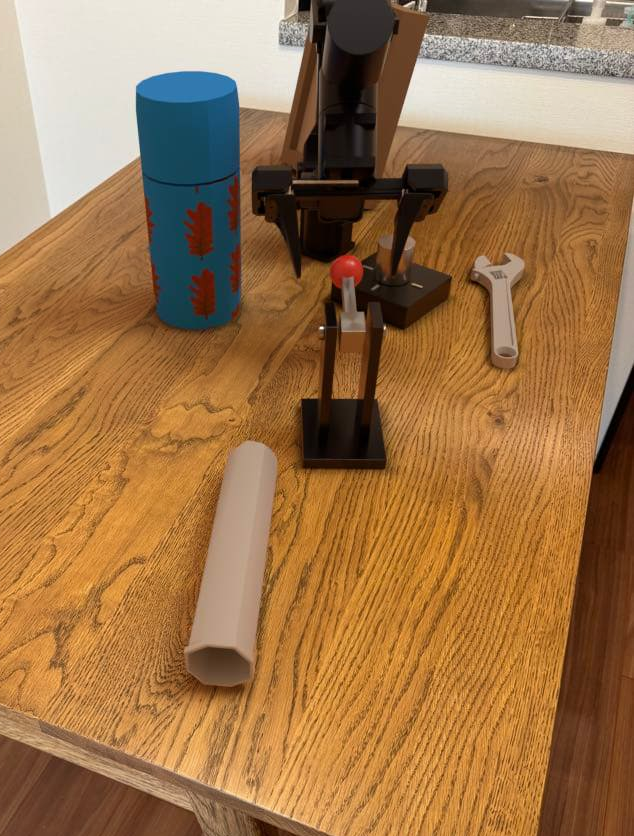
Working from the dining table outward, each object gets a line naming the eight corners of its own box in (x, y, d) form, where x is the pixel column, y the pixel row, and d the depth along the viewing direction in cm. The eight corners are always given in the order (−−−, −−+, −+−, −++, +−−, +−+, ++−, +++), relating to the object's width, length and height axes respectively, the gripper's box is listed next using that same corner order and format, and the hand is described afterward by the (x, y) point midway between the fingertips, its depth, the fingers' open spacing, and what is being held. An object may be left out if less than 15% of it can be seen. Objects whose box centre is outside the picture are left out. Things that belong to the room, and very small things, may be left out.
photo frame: (348, 214, 116) (365, 16, 98) (280, 165, 130) (284, -16, 112) (431, 195, 120) (462, 2, 102) (356, 149, 134) (372, -28, 116)
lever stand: (300, 407, 83) (306, 286, 73) (376, 407, 83) (392, 286, 73) (302, 468, 76) (310, 344, 66) (385, 469, 76) (405, 344, 66)
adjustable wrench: (516, 372, 87) (520, 358, 86) (457, 364, 88) (460, 350, 87) (522, 266, 103) (525, 254, 102) (472, 261, 105) (475, 249, 103)
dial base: (330, 300, 98) (331, 277, 96) (375, 271, 103) (378, 248, 101) (403, 330, 93) (407, 306, 91) (448, 298, 98) (452, 274, 96)
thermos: (255, 296, 100) (255, 76, 82) (219, 338, 93) (211, 108, 75) (179, 280, 103) (164, 66, 85) (139, 319, 96) (113, 95, 78)
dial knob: (403, 288, 94) (409, 250, 90) (368, 281, 95) (373, 243, 92) (415, 272, 97) (421, 235, 93) (381, 265, 98) (385, 228, 95)
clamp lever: (328, 276, 78) (330, 247, 76) (360, 276, 78) (363, 247, 76) (333, 356, 71) (336, 327, 69) (368, 356, 71) (372, 327, 68)
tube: (219, 435, 73) (171, 648, 56) (272, 424, 72) (241, 640, 54) (237, 477, 77) (198, 690, 59) (289, 467, 75) (264, 684, 58)
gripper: (426, 157, 84) (424, 301, 85) (254, 158, 85) (252, 301, 85) (451, 99, 73) (448, 266, 73) (252, 102, 74) (250, 267, 74)
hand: (345, 277), depth 77 cm, fingers open, 9 cm apart
